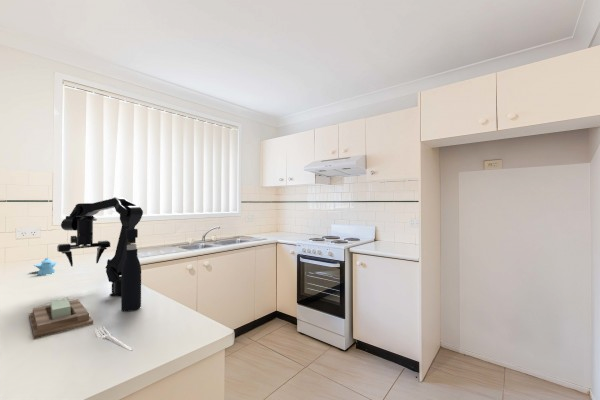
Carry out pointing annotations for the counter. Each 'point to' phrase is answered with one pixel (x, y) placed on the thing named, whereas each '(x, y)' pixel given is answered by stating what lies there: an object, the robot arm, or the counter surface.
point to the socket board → (58, 320)
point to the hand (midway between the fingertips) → (84, 264)
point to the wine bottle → (131, 275)
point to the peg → (60, 308)
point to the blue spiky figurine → (46, 267)
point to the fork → (110, 338)
